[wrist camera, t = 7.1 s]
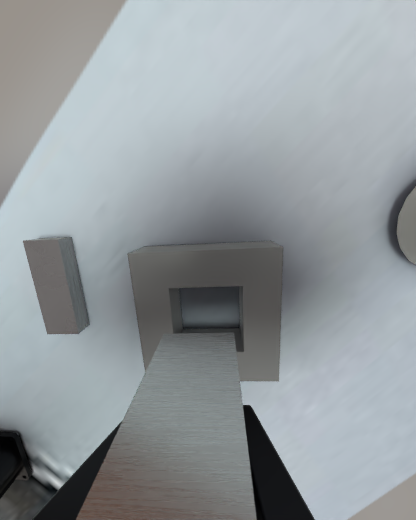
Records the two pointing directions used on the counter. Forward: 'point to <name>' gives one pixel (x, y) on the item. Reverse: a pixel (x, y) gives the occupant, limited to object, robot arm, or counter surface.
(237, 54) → the counter surface
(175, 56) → the counter surface
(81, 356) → the counter surface
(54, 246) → the flat bit
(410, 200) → the can
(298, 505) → the robot arm
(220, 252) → the bore block
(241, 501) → the square bit
